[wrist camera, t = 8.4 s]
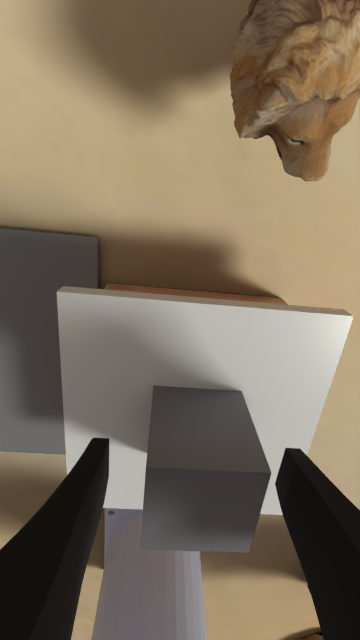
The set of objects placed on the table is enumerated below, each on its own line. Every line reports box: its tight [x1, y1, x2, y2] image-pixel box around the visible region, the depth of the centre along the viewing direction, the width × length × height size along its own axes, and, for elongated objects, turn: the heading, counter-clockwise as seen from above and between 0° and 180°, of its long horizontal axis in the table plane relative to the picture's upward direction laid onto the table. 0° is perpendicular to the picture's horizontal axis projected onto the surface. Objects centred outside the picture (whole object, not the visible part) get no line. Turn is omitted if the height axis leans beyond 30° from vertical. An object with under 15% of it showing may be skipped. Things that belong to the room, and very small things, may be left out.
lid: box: [57, 286, 354, 553], centre depth 13 cm, size 12×12×5 cm
